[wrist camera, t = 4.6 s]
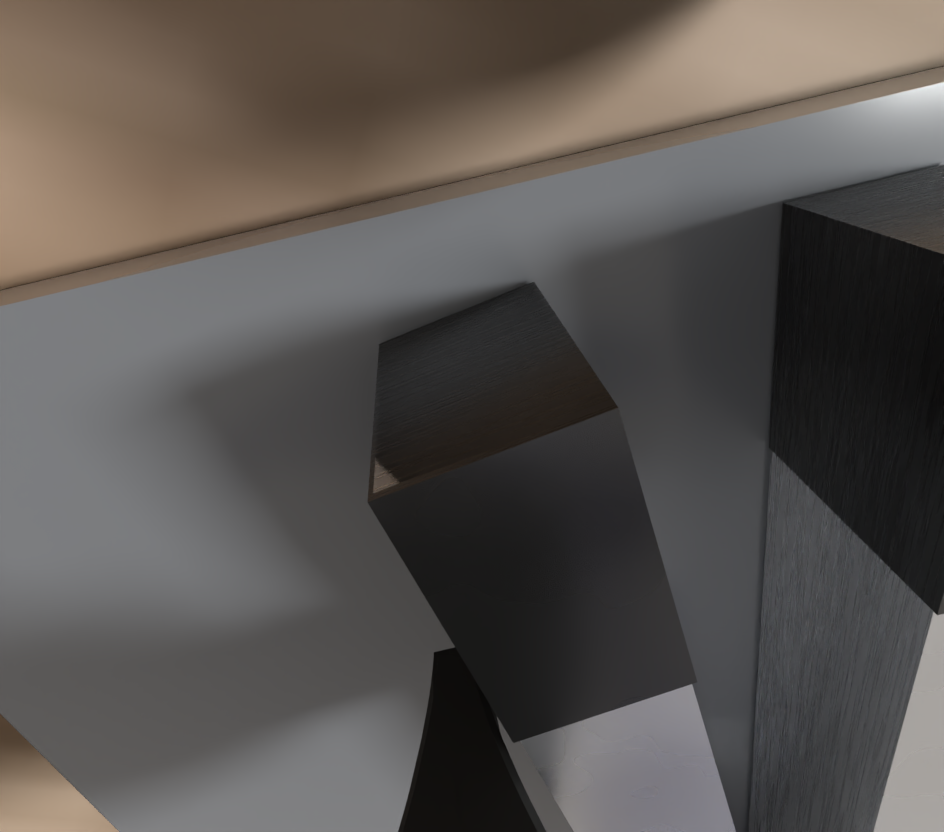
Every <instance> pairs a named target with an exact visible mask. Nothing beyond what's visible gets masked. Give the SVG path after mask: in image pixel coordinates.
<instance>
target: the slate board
mask: <svg viewBox="0 0 944 832" xmlns="http://www.w3.org/2000/svg"><path fill="white" fill-rule="evenodd" d="M940 165H944V66H942V67H938V68H934V69H930V70H926V71H921V72H917V73H913V74H909V75H904V76H900V77H896V78H892V79H888V80H883V81H879V82H875V83H871V84H867V85H862V86H858V87H854V88H850V89H846V90H841V91H837V92H833V93H829V94H825V95H820V96H816V97H812V98H808V99H804V100H799V101H795V102H791V103H787V104H782V105H778V106H774V107H770V108H766V109H761V110H757V111H753V112H749V113H745V114H740V115H736V116H732V117H728V118H724V119H719V120H715V121H711V122H707V123H703V124H698V125H694V126H690V127H686V128H681V129H677V130H673V131H669V132H665V133H660V134H656V135H652V136H648V137H644V138H639V139H635V140H631V141H627V142H623V143H618V144H614V145H610V146H606V147H602V148H597V149H593V150H589V151H585V152H581V153H576V154H572V155H568V156H564V157H559V158H555V159H551V160H547V161H543V162H538V163H534V164H530V165H526V166H522V167H517V168H513V169H509V170H505V171H501V172H496V173H492V174H488V175H484V176H480V177H475V178H471V179H467V180H463V181H459V182H454V183H450V184H446V185H442V186H437V187H433V188H429V189H425V190H421V191H416V192H412V193H408V194H404V195H400V196H395V197H391V198H387V199H383V200H379V201H374V202H370V203H366V204H362V205H358V206H353V207H349V208H345V209H341V210H337V211H332V212H328V213H324V214H320V215H315V216H311V217H307V218H303V219H299V220H294V221H290V222H286V223H282V224H278V225H273V226H269V227H265V228H261V229H257V230H252V231H248V232H244V233H240V234H236V235H231V236H227V237H223V238H219V239H214V240H210V241H206V242H202V243H198V244H193V245H189V246H185V247H181V248H177V249H172V250H168V251H164V252H160V253H156V254H151V255H147V256H143V257H139V258H135V259H130V260H126V261H122V262H118V263H114V264H109V265H105V266H101V267H97V268H92V269H88V270H84V271H80V272H76V273H71V274H67V275H63V276H59V277H55V278H50V279H46V280H42V281H38V282H34V283H29V284H25V285H21V286H17V287H13V288H8V289H4V290H0V714H1V715H2V716H3V717H4V718H5V719H6V720H7V721H8V722H9V723H10V724H11V725H12V726H13V727H14V728H15V729H16V730H17V731H18V732H19V733H20V734H21V735H22V736H23V737H24V738H25V739H26V740H27V741H28V742H29V743H30V744H31V745H32V746H33V747H34V748H35V749H36V750H37V751H38V752H39V753H40V754H41V755H42V756H43V757H44V758H46V759H47V760H48V761H49V762H50V763H51V764H52V765H53V766H54V767H55V768H56V769H57V770H58V771H59V772H60V773H61V774H62V775H63V776H64V777H65V778H66V779H67V780H68V781H69V782H70V783H71V784H72V785H73V786H74V787H75V788H76V789H77V790H78V791H79V792H80V793H81V794H82V795H83V796H84V797H85V798H86V799H87V800H88V801H89V802H90V803H91V804H92V805H93V806H94V807H95V808H96V809H97V810H98V811H99V812H100V813H101V814H102V815H103V816H104V817H105V818H106V819H107V820H108V821H109V822H110V823H111V824H112V825H113V826H114V827H115V828H116V829H117V830H118V831H119V832H398V830H399V827H400V823H401V820H402V816H403V813H404V809H405V805H406V802H407V798H408V794H409V790H410V786H411V782H412V777H413V773H414V769H415V764H416V760H417V756H418V751H419V747H420V743H421V738H422V733H423V728H424V722H425V717H426V712H427V706H428V700H429V694H430V686H431V679H432V670H433V658H434V652H437V651H441V650H446V649H450V648H454V647H455V646H454V644H453V643H452V641H451V639H450V638H449V636H448V634H447V633H446V631H445V629H444V628H443V626H442V625H441V623H440V621H439V620H438V618H437V616H436V615H435V613H434V611H433V610H432V608H431V606H430V605H429V603H428V601H427V600H426V598H425V596H424V595H423V593H422V591H421V590H420V588H419V587H418V585H417V583H416V582H415V580H414V578H413V577H412V575H411V573H410V572H409V570H408V568H407V567H406V565H405V563H404V562H403V560H402V558H401V557H400V555H399V554H398V552H397V550H396V549H395V547H394V545H393V544H392V542H391V540H390V539H389V537H388V535H387V534H386V532H385V530H384V529H383V527H382V525H381V524H380V522H379V521H378V519H377V517H376V516H375V514H374V512H373V511H372V509H371V507H370V506H369V504H368V488H369V475H370V461H371V448H372V434H373V421H374V407H375V394H376V380H377V367H378V353H379V344H380V343H382V342H385V341H387V340H390V339H392V338H395V337H397V336H400V335H402V334H405V333H407V332H410V331H412V330H415V329H417V328H420V327H422V326H425V325H427V324H430V323H432V322H435V321H437V320H440V319H442V318H445V317H447V316H450V315H452V314H454V313H457V312H459V311H462V310H464V309H467V308H469V307H472V306H474V305H477V304H479V303H482V302H484V301H487V300H489V299H492V298H494V297H497V296H499V295H502V294H504V293H507V292H509V291H512V290H514V289H517V288H519V287H522V286H524V285H527V284H529V283H532V282H535V284H536V285H537V287H538V288H539V290H540V291H541V293H542V294H543V296H544V297H545V299H546V300H547V302H548V303H549V305H550V306H551V308H552V309H553V311H554V312H555V314H556V315H557V317H558V318H559V320H560V321H561V323H562V324H563V326H564V327H565V329H566V330H567V332H568V333H569V335H570V336H571V338H572V339H573V341H574V342H575V344H576V345H577V347H578V348H579V350H580V351H581V353H582V354H583V356H584V357H585V359H586V360H587V362H588V363H589V365H590V366H591V368H592V369H593V371H594V372H595V374H596V375H597V377H598V378H599V380H600V381H601V382H602V384H603V385H604V387H605V388H606V390H607V391H608V393H609V394H610V396H611V397H612V399H613V400H614V402H615V403H616V405H617V406H618V408H619V412H620V415H621V419H622V422H623V426H624V429H625V433H626V436H627V439H628V443H629V446H630V450H631V453H632V457H633V460H634V464H635V467H636V471H637V474H638V478H639V481H640V485H641V488H642V491H643V495H644V498H645V502H646V505H647V509H648V512H649V516H650V519H651V523H652V526H653V530H654V533H655V537H656V540H657V544H658V547H659V550H660V554H661V557H662V561H663V564H664V568H665V571H666V575H667V578H668V582H669V585H670V589H671V592H672V596H673V599H674V602H675V606H676V609H677V613H678V616H679V620H680V623H681V627H682V630H683V634H684V637H685V641H686V644H687V648H688V651H689V655H690V658H691V661H692V665H693V668H694V672H695V675H696V679H697V683H694V684H692V685H693V689H694V692H695V696H696V699H697V702H698V706H699V709H700V712H701V716H702V719H703V722H704V726H705V729H706V733H707V736H708V739H709V743H710V746H711V749H712V753H713V756H714V760H715V763H716V766H717V770H718V773H719V776H720V780H721V783H722V786H723V790H724V793H725V797H726V800H727V803H728V807H729V810H730V813H731V817H732V820H733V824H734V827H735V830H736V832H748V824H749V807H750V791H751V775H752V758H753V742H754V725H755V709H756V693H757V676H758V660H759V643H760V627H761V611H762V594H763V578H764V561H765V545H766V529H767V512H768V496H769V480H770V463H771V449H770V448H769V431H770V414H771V397H772V380H773V362H774V345H775V328H776V311H777V294H778V276H779V259H780V242H781V225H782V207H783V202H788V201H792V200H796V199H800V198H804V197H809V196H813V195H817V194H821V193H826V192H830V191H834V190H838V189H843V188H847V187H851V186H855V185H860V184H864V183H868V182H872V181H876V180H881V179H885V178H889V177H893V176H898V175H902V174H906V173H910V172H915V171H919V170H923V169H927V168H932V167H936V166H940ZM497 720H498V724H499V729H500V734H501V736H502V739H503V741H504V743H505V745H506V748H507V750H508V752H509V755H510V757H511V759H512V761H513V764H514V766H515V768H516V771H517V773H518V775H519V777H520V779H521V782H522V784H523V786H524V788H525V790H526V792H527V794H528V796H529V798H530V800H531V802H532V804H533V806H534V808H535V810H536V812H537V814H538V816H539V818H540V820H541V822H542V824H543V826H544V828H545V830H546V832H574V831H573V829H572V828H571V826H570V824H569V823H568V821H567V819H566V818H565V816H564V814H563V813H562V811H561V809H560V808H559V806H558V804H557V802H556V801H555V799H554V797H553V796H552V794H551V792H550V791H549V789H548V787H547V786H546V784H545V782H544V781H543V779H542V777H541V776H540V774H539V772H538V770H537V769H536V767H535V765H534V764H533V762H532V760H531V759H530V757H529V755H528V754H527V752H526V750H525V749H524V747H523V745H522V743H521V742H520V741H518V742H515V743H513V742H512V740H511V738H510V737H509V735H508V733H507V732H506V730H505V729H504V727H503V725H502V724H501V722H500V720H499V719H498V717H497Z"/></svg>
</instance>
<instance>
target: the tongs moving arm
mask: <svg viewBox="0 0 944 832" xmlns="http://www.w3.org/2000/svg"><path fill="white" fill-rule="evenodd" d="M368 504H369V506H370V507H371V509H372V511H373V512H374V514H375V516H376V517H377V519H378V521H379V522H380V524H381V525H382V527H383V529H384V530H385V532H386V534H387V535H388V537H389V539H390V540H391V542H392V544H393V545H394V547H395V549H396V550H397V552H398V554H399V555H400V557H401V558H402V560H403V562H404V563H405V565H406V567H407V568H408V570H409V572H410V573H411V575H412V577H413V578H414V580H415V582H416V583H417V585H418V587H419V588H420V590H421V591H422V593H423V595H424V596H425V598H426V600H427V601H428V603H429V605H430V606H431V608H432V610H433V611H434V613H435V615H436V616H437V618H438V620H439V621H440V623H441V625H442V626H443V628H444V629H445V631H446V633H447V634H448V636H449V638H450V639H451V641H452V643H453V644H454V646H455V648H456V649H457V651H458V653H459V654H460V656H461V658H462V659H463V661H464V662H465V664H466V666H467V667H468V669H469V671H470V672H471V674H472V676H473V677H474V679H475V681H476V682H477V684H478V686H479V687H480V689H481V691H482V692H483V694H484V695H485V697H486V699H487V700H488V702H489V704H490V705H491V707H492V709H493V710H494V712H495V714H496V715H497V717H498V719H499V720H500V722H501V724H502V725H503V727H504V729H505V730H506V732H507V733H508V735H509V737H510V738H511V740H512V742H513V743H515V742H518V741H520V742H521V743H522V745H523V747H524V749H525V750H526V752H527V754H528V755H529V757H530V759H531V760H532V762H533V764H534V765H535V767H536V769H537V770H538V772H539V774H540V776H541V777H542V779H543V781H544V782H545V784H546V786H547V787H548V789H549V791H550V792H551V794H552V796H553V797H554V799H555V801H556V802H557V804H558V806H559V808H560V809H561V811H562V813H563V814H564V816H565V818H566V819H567V821H568V823H569V824H570V826H571V828H572V829H573V831H574V832H736V830H735V827H734V824H733V820H732V817H731V813H730V810H729V807H728V803H727V800H726V797H725V793H724V790H723V786H722V783H721V780H720V776H719V773H718V770H717V766H716V763H715V760H714V756H713V753H712V749H711V746H710V743H709V739H708V736H707V733H706V729H705V726H704V722H703V719H702V716H701V712H700V709H699V706H698V702H697V699H696V696H695V692H694V689H693V685H692V684H694V683H697V679H696V675H695V672H694V668H693V665H692V661H691V658H690V655H689V651H688V648H687V644H686V641H685V637H684V634H683V630H682V627H681V623H680V620H679V616H678V613H677V609H676V606H675V602H674V599H673V596H672V592H671V589H670V585H669V582H668V578H667V575H666V571H665V568H664V564H663V561H662V557H661V554H660V550H659V547H658V544H657V540H656V537H655V533H654V530H653V526H652V523H651V519H650V516H649V512H648V509H647V505H646V502H645V498H644V495H643V491H642V488H641V485H640V481H639V478H638V474H637V471H636V467H635V464H634V460H633V457H632V453H631V450H630V446H629V443H628V439H627V436H626V433H625V429H624V426H623V422H622V419H621V415H620V412H619V408H618V406H617V405H616V403H615V402H614V400H613V399H612V397H611V396H610V394H609V393H608V391H607V390H606V388H605V387H604V385H603V384H602V382H601V381H600V380H599V378H598V377H597V375H596V374H595V372H594V371H593V369H592V368H591V366H590V365H589V363H588V362H587V360H586V359H585V357H584V356H583V354H582V353H581V351H580V350H579V348H578V347H577V345H576V344H575V342H574V341H573V339H572V338H571V336H570V335H569V333H568V332H567V330H566V329H565V327H564V326H563V324H562V323H561V321H560V320H559V318H558V317H557V315H556V314H555V312H554V311H553V309H552V308H551V306H550V305H549V303H548V302H547V300H546V299H545V297H544V296H543V294H542V293H541V291H540V290H539V288H538V287H537V285H536V284H535V282H532V283H529V284H527V285H524V286H522V287H519V288H517V289H514V290H512V291H509V292H507V293H504V294H502V295H499V296H497V297H494V298H492V299H489V300H487V301H484V302H482V303H479V304H477V305H474V306H472V307H469V308H467V309H464V310H462V311H459V312H457V313H454V314H452V315H450V316H447V317H445V318H442V319H440V320H437V321H435V322H432V323H430V324H427V325H425V326H422V327H420V328H417V329H415V330H412V331H410V332H407V333H405V334H402V335H400V336H397V337H395V338H392V339H390V340H387V341H385V342H382V343H380V344H379V353H378V367H377V380H376V394H375V407H374V421H373V434H372V448H371V461H370V475H369V488H368Z"/></svg>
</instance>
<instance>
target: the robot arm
mask: <svg viewBox="0 0 944 832" xmlns="http://www.w3.org/2000/svg"><path fill="white" fill-rule="evenodd" d="M398 832H546V830H545V828H544V826H543V824H542V822H541V820H540V818H539V816H538V814H537V812H536V810H535V808H534V806H533V804H532V802H531V800H530V798H529V796H528V794H527V792H526V790H525V788H524V786H523V784H522V782H521V779H520V777H519V775H518V773H517V771H516V768H515V766H514V764H513V761H512V759H511V757H510V755H509V752H508V750H507V748H506V745H505V743H504V741H503V739H502V736H501V734H500V729H499V724H498V720H497V715H496V714H495V712H494V710H493V709H492V707H491V705H490V704H489V702H488V700H487V699H486V697H485V695H484V694H483V692H482V691H481V689H480V687H479V686H478V684H477V682H476V681H475V679H474V677H473V676H472V674H471V672H470V671H469V669H468V667H467V666H466V664H465V662H464V661H463V659H462V658H461V656H460V654H459V653H458V651H457V649H456V648H455V647H454V648H450V649H446V650H441V651H437V652H434V658H433V670H432V679H431V686H430V694H429V700H428V706H427V712H426V717H425V722H424V728H423V733H422V738H421V743H420V747H419V751H418V756H417V760H416V764H415V769H414V773H413V777H412V782H411V786H410V790H409V794H408V798H407V802H406V805H405V809H404V813H403V816H402V820H401V823H400V827H399V830H398Z"/></svg>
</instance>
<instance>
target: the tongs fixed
mask: <svg viewBox="0 0 944 832" xmlns="http://www.w3.org/2000/svg"><path fill="white" fill-rule="evenodd" d="M769 448H770V449H771V463H770V480H769V496H768V512H767V529H766V545H765V561H764V578H763V594H762V611H761V627H760V643H759V660H758V676H757V693H756V709H755V725H754V742H753V758H752V775H751V791H750V807H749V824H748V832H944V165H940V166H936V167H932V168H927V169H923V170H919V171H915V172H910V173H906V174H902V175H898V176H893V177H889V178H885V179H881V180H876V181H872V182H868V183H864V184H860V185H855V186H851V187H847V188H843V189H838V190H834V191H830V192H826V193H821V194H817V195H813V196H809V197H804V198H800V199H796V200H792V201H788V202H783V207H782V225H781V242H780V259H779V276H778V294H777V311H776V328H775V345H774V362H773V380H772V397H771V414H770V431H769Z"/></svg>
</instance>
